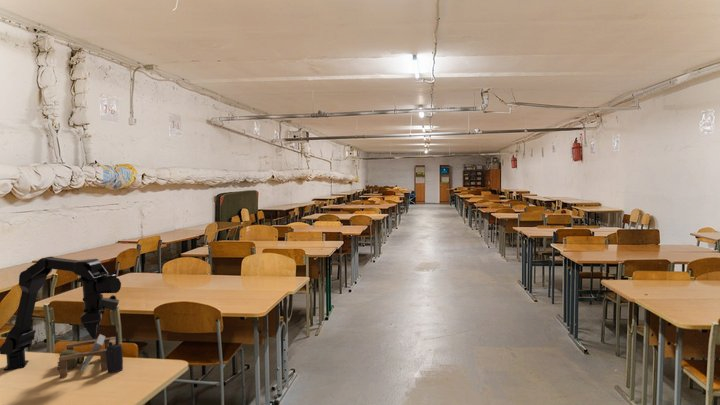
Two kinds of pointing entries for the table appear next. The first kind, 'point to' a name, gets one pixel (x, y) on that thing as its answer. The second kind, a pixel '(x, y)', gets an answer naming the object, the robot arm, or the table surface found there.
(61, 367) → the frame
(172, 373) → the table surface
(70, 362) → the brass rounded piece
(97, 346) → the trapdoor
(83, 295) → the robot arm
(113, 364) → the two-way radio
